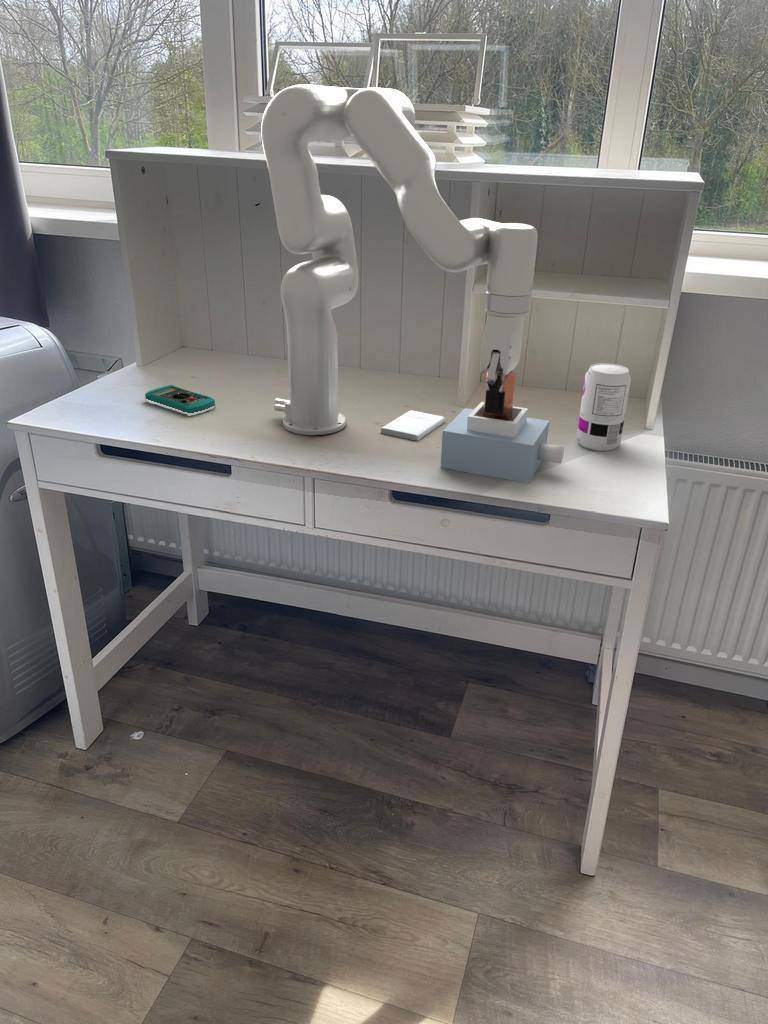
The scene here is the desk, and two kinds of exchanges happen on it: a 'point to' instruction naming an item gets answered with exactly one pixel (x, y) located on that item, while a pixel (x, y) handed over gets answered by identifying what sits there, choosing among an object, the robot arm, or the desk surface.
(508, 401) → the orange gas canister
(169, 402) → the digital multimeter
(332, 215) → the robot arm
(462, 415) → the gearbox
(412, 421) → the external hard drive
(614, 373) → the supplement can
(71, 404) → the desk surface
